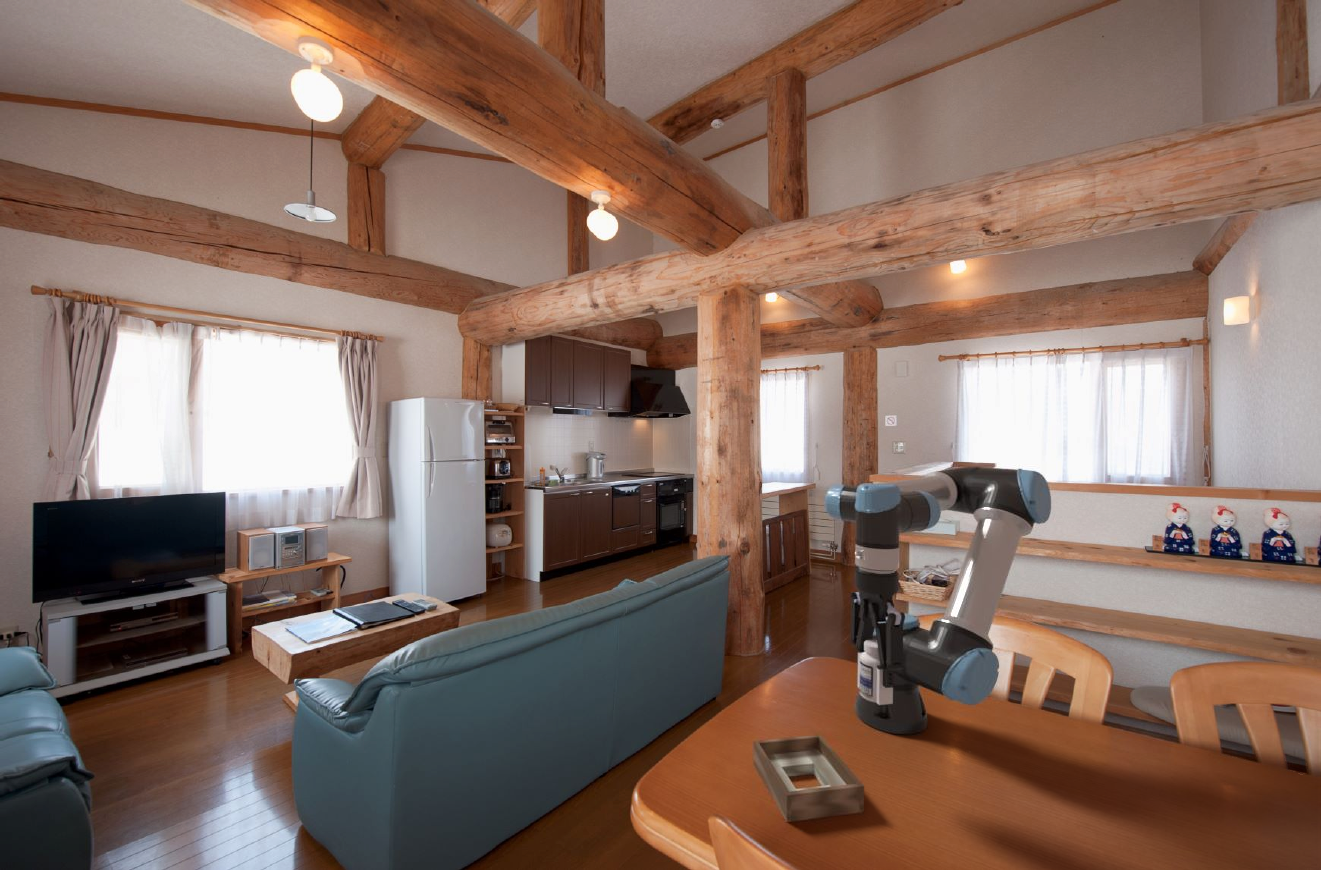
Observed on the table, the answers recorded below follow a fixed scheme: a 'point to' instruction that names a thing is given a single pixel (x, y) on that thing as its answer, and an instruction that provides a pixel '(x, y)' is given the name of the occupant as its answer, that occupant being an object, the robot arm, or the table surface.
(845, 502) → the robot arm
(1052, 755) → the table surface
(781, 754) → the box
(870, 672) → the pill bottle
